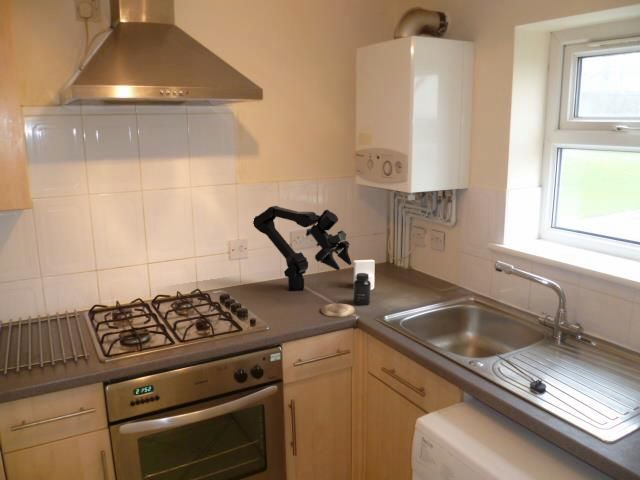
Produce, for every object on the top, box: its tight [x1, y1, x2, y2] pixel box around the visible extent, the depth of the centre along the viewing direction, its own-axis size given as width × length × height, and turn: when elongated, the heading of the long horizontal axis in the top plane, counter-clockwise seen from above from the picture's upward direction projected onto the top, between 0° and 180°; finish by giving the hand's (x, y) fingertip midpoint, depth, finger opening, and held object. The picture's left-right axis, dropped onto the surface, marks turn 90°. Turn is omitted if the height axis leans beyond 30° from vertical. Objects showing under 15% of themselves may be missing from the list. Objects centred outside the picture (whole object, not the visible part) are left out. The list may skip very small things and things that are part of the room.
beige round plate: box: [320, 303, 356, 318], centre depth 209 cm, size 13×13×1 cm
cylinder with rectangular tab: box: [353, 259, 376, 290], centre depth 237 cm, size 9×9×12 cm
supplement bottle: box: [352, 273, 372, 306], centre depth 217 cm, size 7×7×12 cm
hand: (345, 267), depth 220 cm, fingers open, 9 cm apart
